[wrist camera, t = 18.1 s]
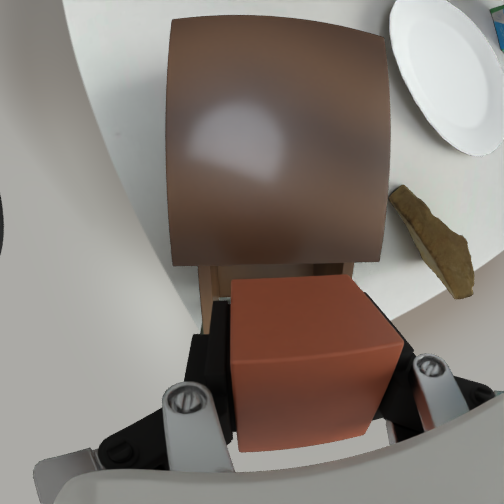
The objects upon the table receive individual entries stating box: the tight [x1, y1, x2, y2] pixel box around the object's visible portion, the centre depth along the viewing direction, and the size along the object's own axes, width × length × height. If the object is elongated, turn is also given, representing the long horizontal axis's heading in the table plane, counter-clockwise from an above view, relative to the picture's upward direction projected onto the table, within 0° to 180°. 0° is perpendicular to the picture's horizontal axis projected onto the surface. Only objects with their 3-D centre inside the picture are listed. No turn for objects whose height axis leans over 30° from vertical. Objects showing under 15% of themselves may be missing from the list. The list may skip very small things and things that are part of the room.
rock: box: [389, 185, 474, 299], centre depth 23 cm, size 11×9×10 cm
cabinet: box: [165, 15, 391, 266], centre depth 18 cm, size 15×13×10 cm
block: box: [230, 274, 404, 452], centre depth 9 cm, size 4×4×4 cm
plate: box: [389, 0, 504, 156], centre depth 19 cm, size 21×21×2 cm
